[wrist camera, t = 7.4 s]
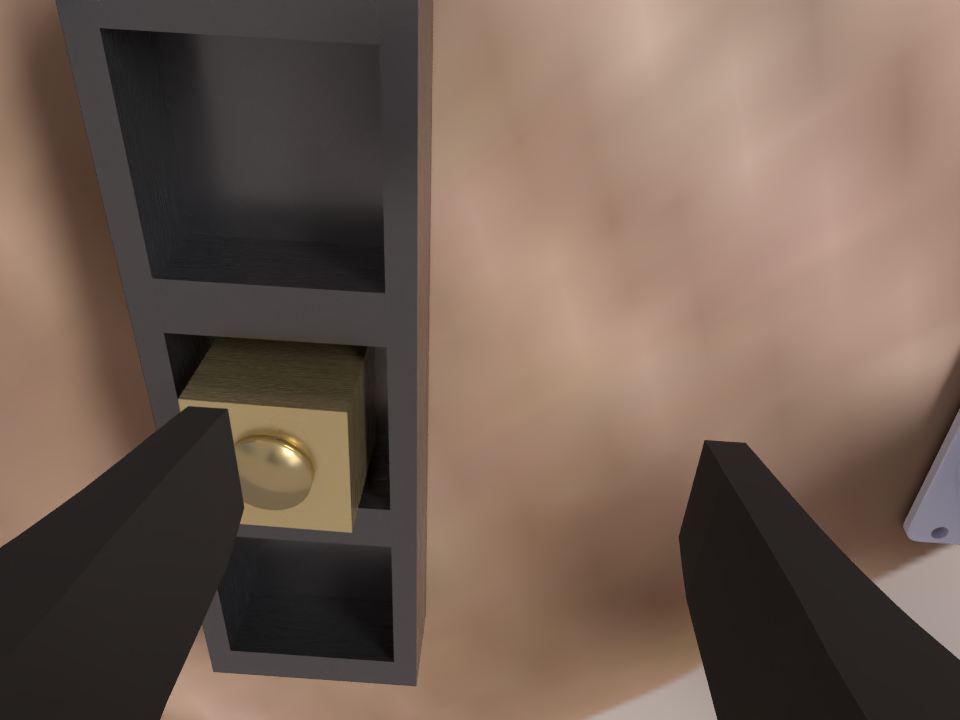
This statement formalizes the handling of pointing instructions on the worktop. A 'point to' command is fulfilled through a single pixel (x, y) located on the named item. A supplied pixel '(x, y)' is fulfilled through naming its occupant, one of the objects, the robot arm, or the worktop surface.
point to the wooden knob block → (294, 426)
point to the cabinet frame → (281, 272)
